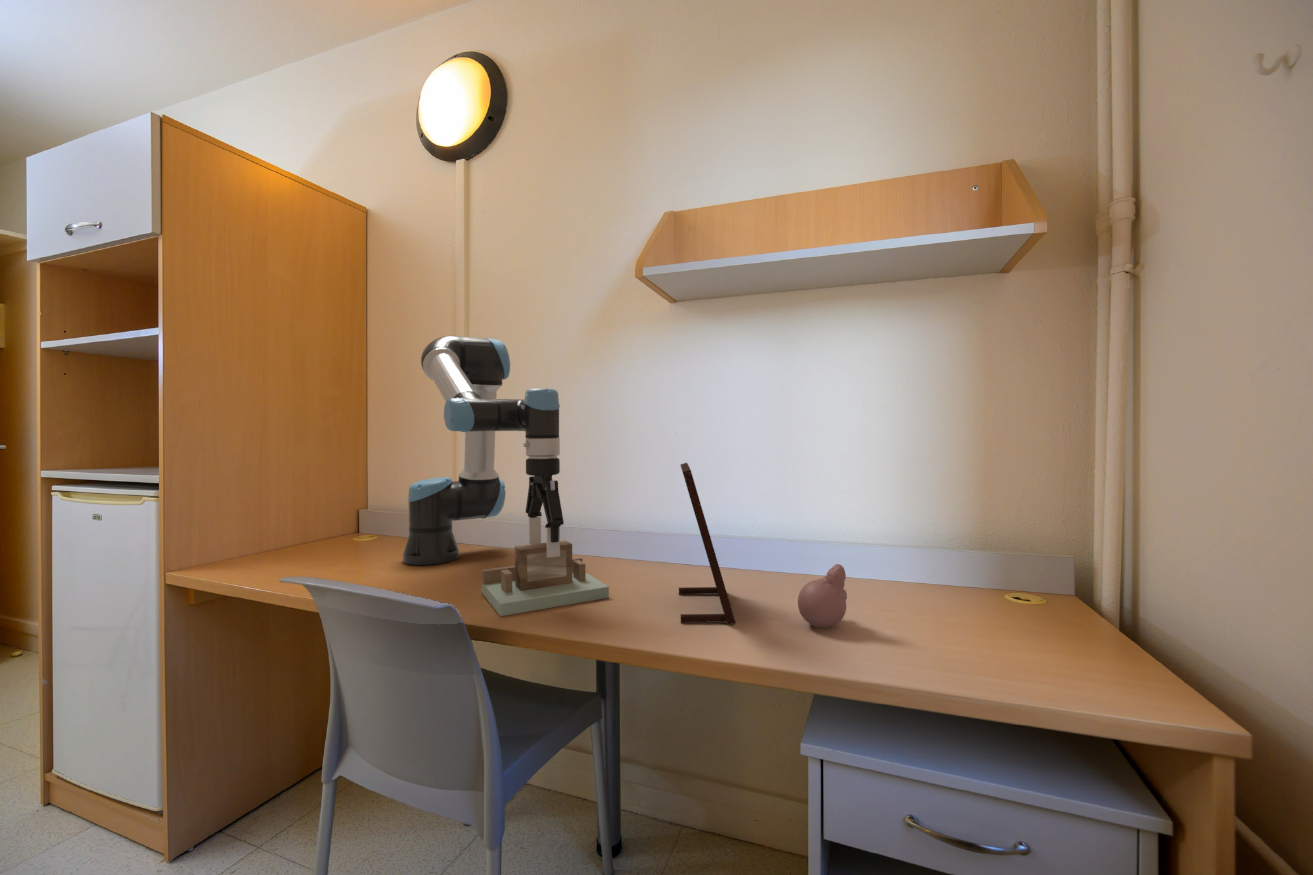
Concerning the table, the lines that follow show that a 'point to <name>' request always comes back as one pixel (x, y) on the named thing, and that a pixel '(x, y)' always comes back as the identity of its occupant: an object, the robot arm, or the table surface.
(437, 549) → the robot arm
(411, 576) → the table surface
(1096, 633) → the table surface
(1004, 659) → the table surface
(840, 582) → the figurine
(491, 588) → the green assembly board
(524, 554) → the walnut frame
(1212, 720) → the table surface
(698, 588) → the black easel stand
